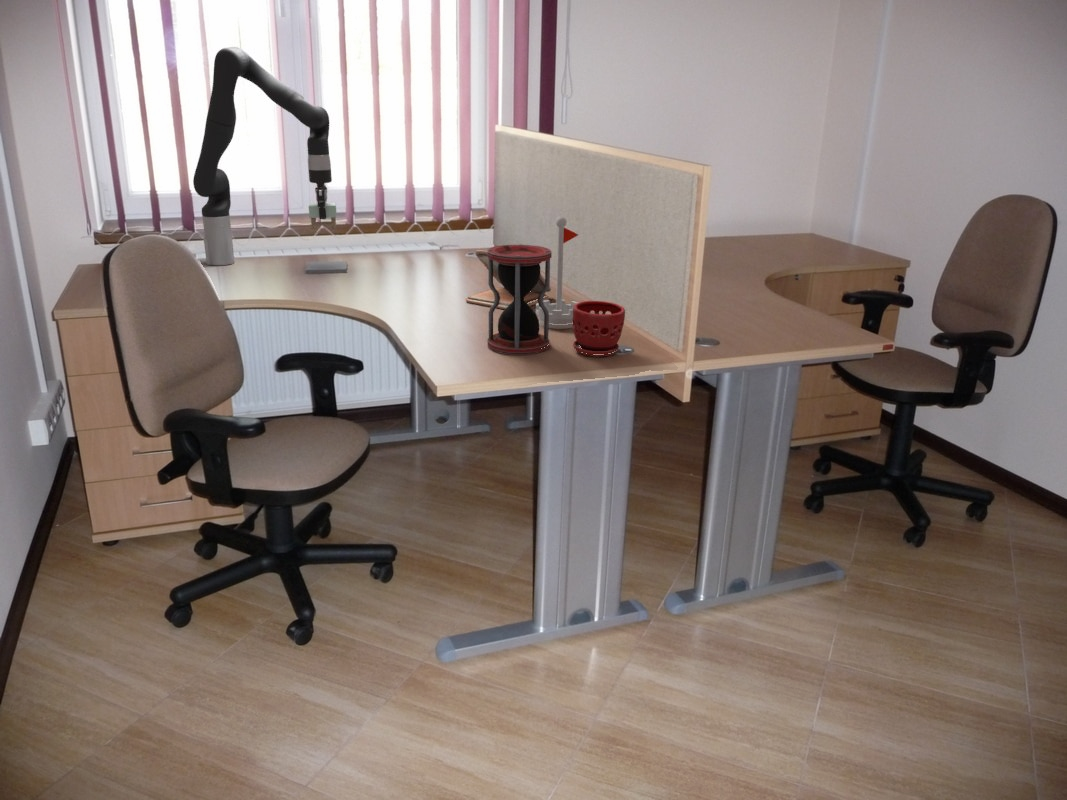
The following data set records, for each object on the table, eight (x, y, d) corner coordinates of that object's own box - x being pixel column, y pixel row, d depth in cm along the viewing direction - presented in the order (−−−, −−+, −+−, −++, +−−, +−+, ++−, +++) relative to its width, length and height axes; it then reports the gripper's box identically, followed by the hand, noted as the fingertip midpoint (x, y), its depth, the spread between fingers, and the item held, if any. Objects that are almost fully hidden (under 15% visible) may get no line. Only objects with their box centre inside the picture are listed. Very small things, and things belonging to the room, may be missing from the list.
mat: (305, 273, 298) (305, 270, 298) (307, 265, 311) (307, 261, 311) (346, 272, 301) (346, 269, 301) (347, 264, 314) (347, 261, 313)
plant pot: (568, 358, 214) (570, 311, 209) (574, 343, 226) (576, 298, 222) (621, 361, 212) (623, 314, 208) (624, 346, 224) (626, 301, 220)
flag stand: (543, 331, 236) (545, 221, 226) (530, 318, 248) (531, 213, 237) (587, 328, 240) (592, 219, 229) (572, 316, 251) (576, 212, 241)
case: (553, 299, 271) (554, 248, 265) (516, 312, 254) (516, 259, 249) (501, 290, 281) (500, 241, 276) (461, 303, 265) (460, 251, 259)
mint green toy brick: (336, 229, 299) (335, 205, 296) (310, 229, 297) (308, 206, 295) (337, 226, 304) (335, 203, 302) (311, 226, 303) (309, 203, 300)
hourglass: (550, 337, 230) (552, 244, 221) (548, 356, 215) (551, 257, 206) (490, 336, 231) (489, 243, 222) (484, 354, 215) (484, 255, 207)
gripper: (330, 170, 288) (333, 220, 294) (331, 166, 301) (334, 214, 307) (307, 170, 286) (311, 221, 292) (309, 166, 300) (313, 214, 306)
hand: (323, 217), depth 300 cm, fingers closed on mint green toy brick, 6 cm apart
